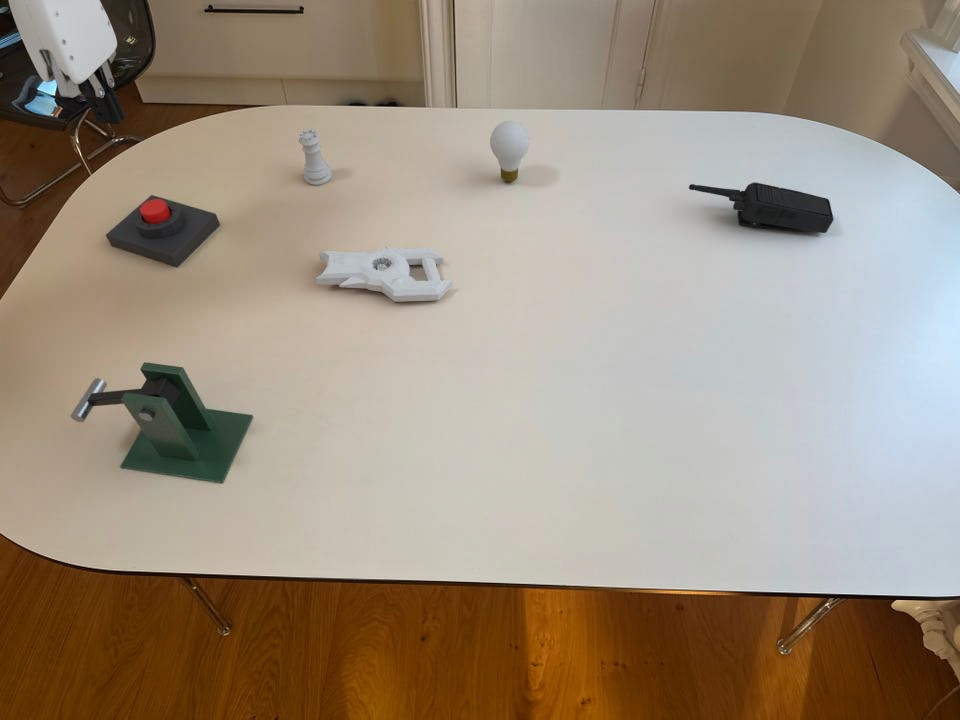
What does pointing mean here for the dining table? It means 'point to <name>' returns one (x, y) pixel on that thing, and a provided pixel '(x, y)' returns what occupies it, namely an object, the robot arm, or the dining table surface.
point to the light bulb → (509, 147)
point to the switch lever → (100, 398)
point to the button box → (164, 233)
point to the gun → (386, 272)
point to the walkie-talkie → (776, 207)
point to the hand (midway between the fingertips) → (112, 120)
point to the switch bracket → (182, 431)
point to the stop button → (155, 211)
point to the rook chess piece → (314, 159)
